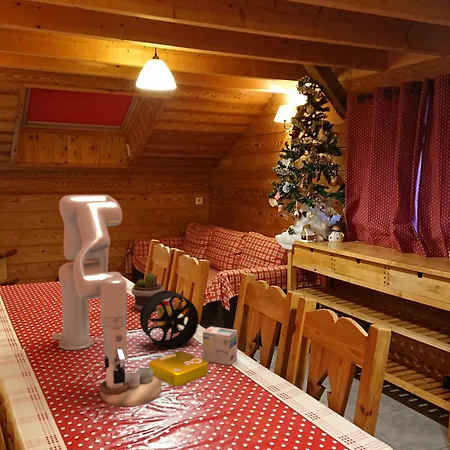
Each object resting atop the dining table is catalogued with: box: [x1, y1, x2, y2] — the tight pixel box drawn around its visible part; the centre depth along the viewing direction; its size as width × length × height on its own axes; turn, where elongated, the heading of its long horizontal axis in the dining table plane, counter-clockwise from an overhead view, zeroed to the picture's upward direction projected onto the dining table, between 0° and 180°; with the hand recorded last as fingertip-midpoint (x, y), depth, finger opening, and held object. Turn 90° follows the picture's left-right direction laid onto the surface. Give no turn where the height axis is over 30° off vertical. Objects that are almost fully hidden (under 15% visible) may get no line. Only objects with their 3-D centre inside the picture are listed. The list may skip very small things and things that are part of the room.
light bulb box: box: [202, 326, 238, 366], centre depth 174 cm, size 11×7×11 cm, turn 65°
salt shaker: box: [105, 358, 123, 388], centre depth 147 cm, size 4×4×10 cm
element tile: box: [148, 350, 209, 387], centre depth 163 cm, size 15×15×5 cm
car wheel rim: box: [139, 290, 200, 350], centre depth 188 cm, size 20×10×20 cm, turn 116°
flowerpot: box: [131, 270, 164, 312], centre depth 235 cm, size 14×15×20 cm
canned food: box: [156, 298, 177, 326], centre depth 211 cm, size 8×8×12 cm
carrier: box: [99, 367, 163, 407], centre depth 149 cm, size 18×18×5 cm
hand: (114, 376), depth 146 cm, fingers open, 9 cm apart
